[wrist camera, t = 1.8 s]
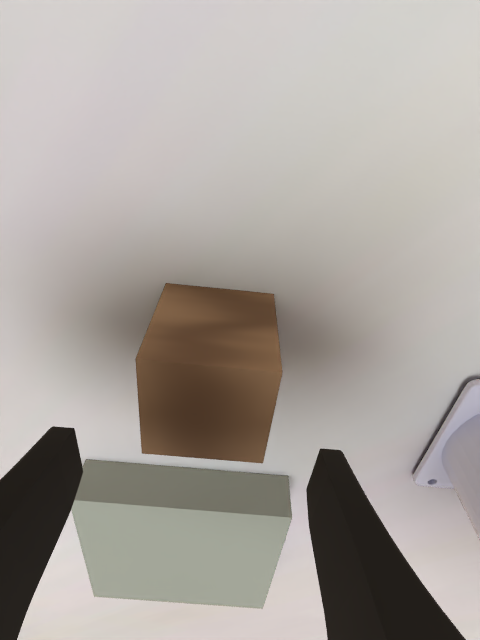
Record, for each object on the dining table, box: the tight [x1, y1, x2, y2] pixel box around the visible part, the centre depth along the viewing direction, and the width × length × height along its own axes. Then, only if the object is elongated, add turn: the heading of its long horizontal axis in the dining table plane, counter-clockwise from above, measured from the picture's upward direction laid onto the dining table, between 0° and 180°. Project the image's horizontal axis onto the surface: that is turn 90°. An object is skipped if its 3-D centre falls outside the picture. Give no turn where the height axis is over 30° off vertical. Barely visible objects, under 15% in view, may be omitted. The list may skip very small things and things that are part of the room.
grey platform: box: [71, 459, 292, 609], centre depth 25 cm, size 12×12×3 cm
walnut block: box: [136, 283, 282, 463], centre depth 15 cm, size 4×4×5 cm
